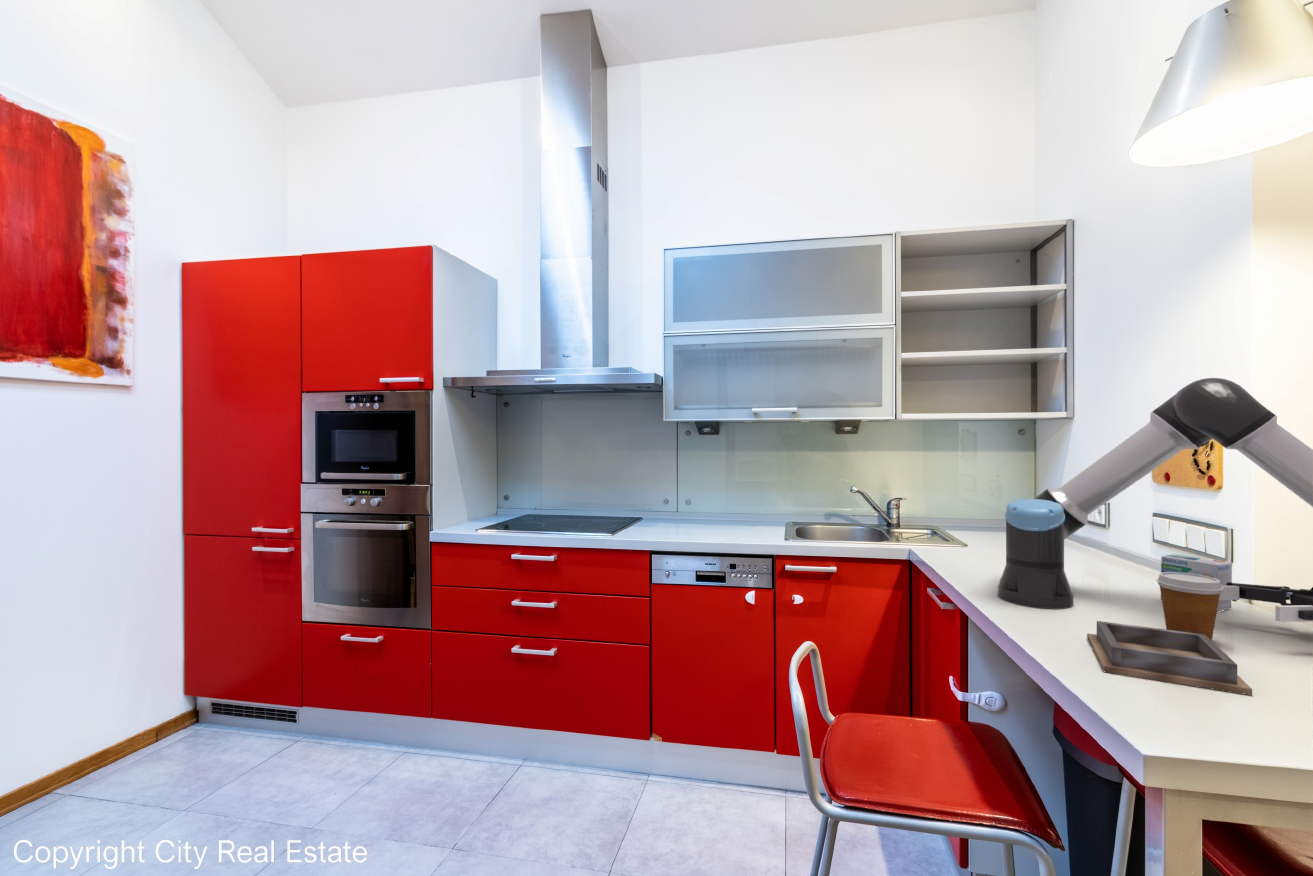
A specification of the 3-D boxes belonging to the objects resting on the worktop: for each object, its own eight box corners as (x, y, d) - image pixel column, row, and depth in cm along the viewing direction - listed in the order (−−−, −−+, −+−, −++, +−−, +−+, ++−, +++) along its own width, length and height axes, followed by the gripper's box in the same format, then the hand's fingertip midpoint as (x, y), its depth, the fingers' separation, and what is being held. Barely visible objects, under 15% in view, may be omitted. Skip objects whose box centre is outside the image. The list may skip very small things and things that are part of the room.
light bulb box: (1159, 600, 137) (1159, 555, 137) (1174, 597, 140) (1174, 552, 140) (1218, 613, 127) (1218, 564, 127) (1233, 609, 130) (1233, 561, 130)
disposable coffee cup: (1158, 641, 110) (1158, 578, 110) (1154, 627, 118) (1154, 569, 118) (1228, 652, 105) (1228, 586, 105) (1218, 637, 112) (1218, 575, 112)
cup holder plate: (1103, 671, 96) (1103, 648, 96) (1087, 638, 112) (1087, 617, 112) (1252, 695, 87) (1252, 669, 87) (1211, 655, 103) (1211, 633, 103)
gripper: (1436, 644, 99) (1313, 645, 99) (1278, 602, 124) (1180, 603, 124) (1436, 601, 99) (1313, 602, 99) (1278, 567, 124) (1180, 568, 124)
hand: (1239, 602), depth 111 cm, fingers open, 13 cm apart
